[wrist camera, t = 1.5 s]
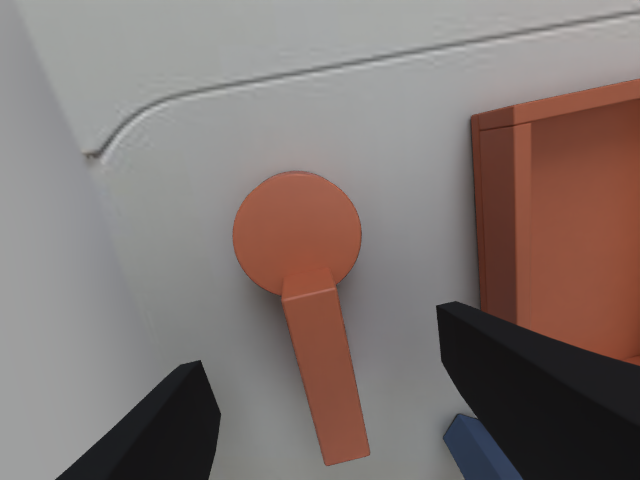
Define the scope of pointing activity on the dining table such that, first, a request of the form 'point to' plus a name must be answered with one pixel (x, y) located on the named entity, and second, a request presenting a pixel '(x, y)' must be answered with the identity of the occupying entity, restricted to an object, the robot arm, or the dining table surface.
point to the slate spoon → (477, 451)
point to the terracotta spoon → (309, 292)
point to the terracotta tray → (563, 217)
